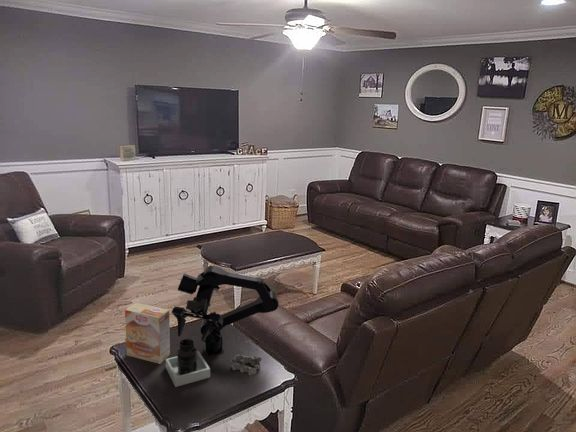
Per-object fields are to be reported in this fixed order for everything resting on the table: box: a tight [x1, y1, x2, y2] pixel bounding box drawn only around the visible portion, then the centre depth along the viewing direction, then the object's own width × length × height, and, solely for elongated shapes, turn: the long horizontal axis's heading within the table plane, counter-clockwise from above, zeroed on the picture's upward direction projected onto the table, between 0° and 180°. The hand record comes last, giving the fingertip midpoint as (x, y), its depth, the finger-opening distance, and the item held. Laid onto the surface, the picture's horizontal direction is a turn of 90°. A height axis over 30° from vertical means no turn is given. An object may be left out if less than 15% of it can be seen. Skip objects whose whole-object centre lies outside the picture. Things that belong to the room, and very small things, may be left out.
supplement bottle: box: [176, 338, 198, 375], centre depth 156 cm, size 7×7×12 cm
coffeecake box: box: [124, 302, 171, 365], centre depth 165 cm, size 15×7×20 cm, turn 72°
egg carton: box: [229, 353, 262, 376], centre depth 163 cm, size 11×8×4 cm
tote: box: [165, 350, 211, 388], centre depth 158 cm, size 13×13×4 cm
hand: (190, 338), depth 157 cm, fingers open, 9 cm apart
